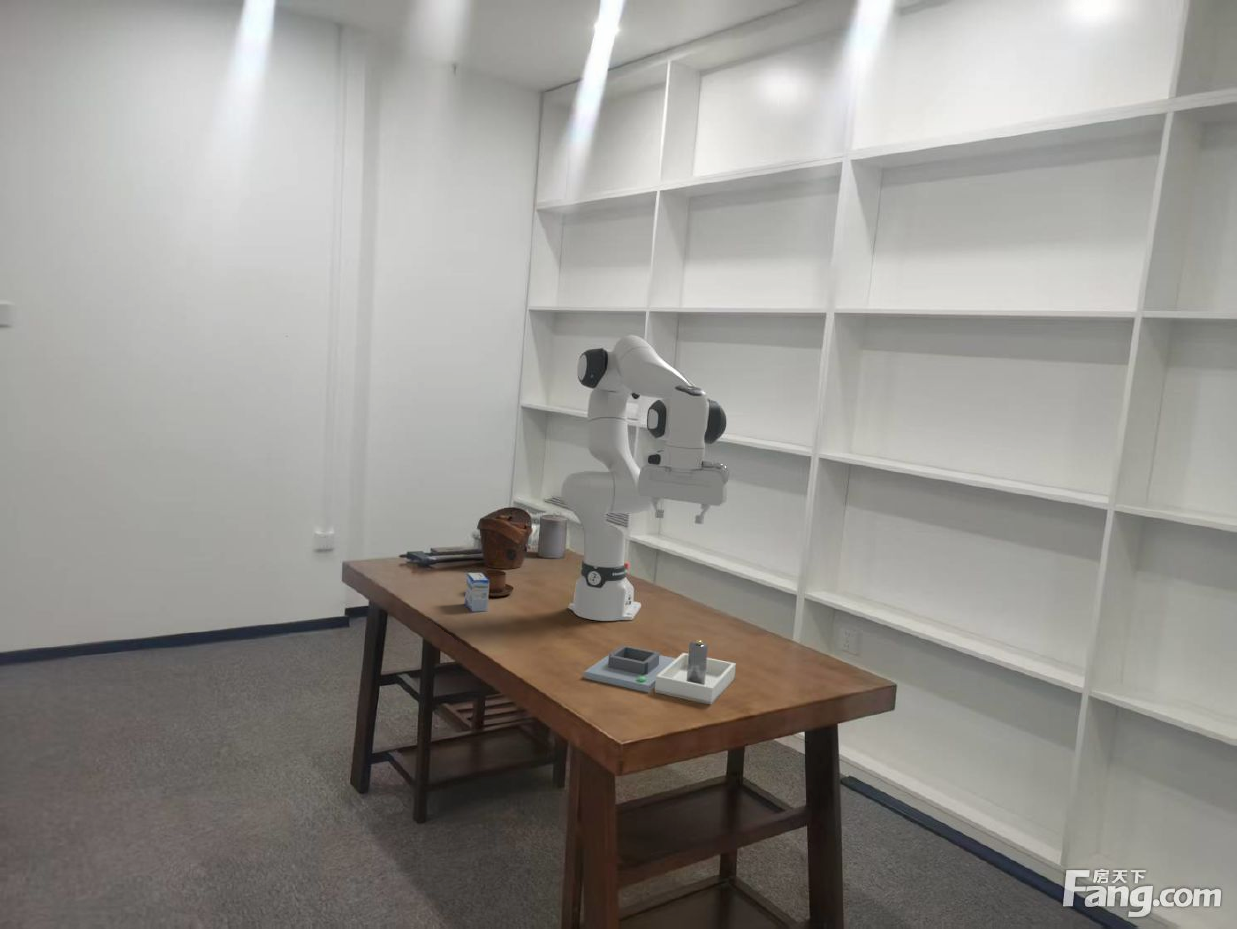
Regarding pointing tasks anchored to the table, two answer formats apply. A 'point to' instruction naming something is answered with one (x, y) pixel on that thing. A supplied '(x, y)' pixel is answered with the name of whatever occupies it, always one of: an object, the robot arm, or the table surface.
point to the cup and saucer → (497, 583)
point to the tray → (678, 686)
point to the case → (505, 537)
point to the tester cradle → (629, 668)
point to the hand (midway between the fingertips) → (679, 520)
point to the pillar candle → (552, 536)
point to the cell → (697, 662)
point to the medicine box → (477, 592)
